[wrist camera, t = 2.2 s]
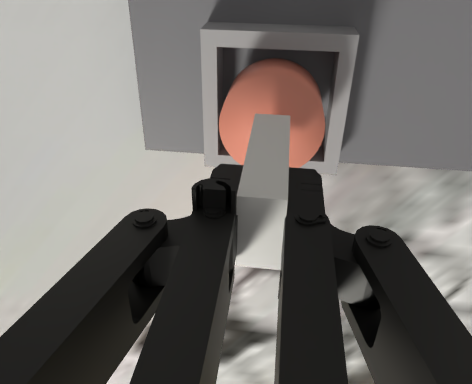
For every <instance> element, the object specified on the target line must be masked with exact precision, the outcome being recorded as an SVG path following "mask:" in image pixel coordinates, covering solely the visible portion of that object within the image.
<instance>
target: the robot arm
mask: <svg viewBox="0 0 472 384" xmlns="http://www.w3.org/2000/svg"><path fill="white" fill-rule="evenodd" d="M289 146H290V115H273V114H255V116H254V121H253V125H252V130H251V134H250V139H249V143H248V148H247V152H246V156H245V161H244V165H235V164H219V165H218V166H217V167H216V168H215V169H213V171H212V174H211V177H210V178H209V179H205V180H201V181H199V182H197V183H195V184H194V185H193V187H192V205H193V211H192V214H191V215H190V216H188V217H185V218H180V219H174V220H167V218H166V215H165V214H164V213H163V212H161V211H159V210H156V209H139V210H137V211H134V212H131V213H130V214H128V215H127V216H125V217H124V218H123V219H122V220H121V221H120V222H119V223H118V224H117V225H116V226H115V227H114V228H113V229H112V230H111V231H110V232H109V233H108V234H107V235H106V236H105V237H104V238H103V239H102V240H101V241H99V242H98V243H97V244H96V245H95V246H94V247H93V248H92V249H91V250H90V251H89V252H88V253H87V254H86V255H85V256H84V257H83V258H82V259H81V260H80V261H79V262H78V263H77V264H76V265H75V266H74V267H72V268H71V269H70V270H69V271H68V272H67V273H66V274H65V275H64V276H63V277H62V278H61V279H60V280H59V281H58V282H57V283H56V284H55V285H54V286H53V287H52V288H51V289H50V290H49V291H48V292H47V293H45V294H44V295H43V296H42V297H41V298H40V299H39V300H38V301H37V302H36V303H35V304H34V305H33V306H32V307H31V308H30V309H29V310H28V311H27V312H26V313H25V314H24V315H23V316H22V317H21V318H20V319H18V320H17V321H16V322H15V323H14V324H13V325H12V326H11V327H10V328H9V329H8V330H7V331H6V332H5V333H4V334H3V335H2V336H1V337H0V384H106V383H107V381H108V380H109V379H110V377H111V376H112V374H113V373H114V371H115V370H116V369H117V367H118V366H119V364H120V363H121V361H122V360H123V358H124V357H125V356H126V354H127V353H128V351H129V350H130V348H131V347H132V346H133V344H134V343H135V341H136V340H137V338H138V337H139V335H140V334H141V333H142V331H143V330H144V328H145V327H146V325H147V324H148V323H149V321H150V320H151V318H152V317H153V315H154V314H155V315H154V318H153V321H152V324H151V326H150V329H149V332H148V335H147V337H146V340H145V343H144V346H143V348H142V351H141V354H140V356H139V359H138V362H137V365H136V367H135V370H134V373H133V376H132V378H131V381H130V384H216V379H217V374H218V368H219V362H220V356H221V351H222V345H223V339H224V334H225V328H226V322H227V316H228V311H229V305H230V299H231V293H232V288H233V282H234V265H235V260H236V266H242V267H253V268H264V269H274V270H281V271H280V282H279V293H278V299H279V302H278V322H277V342H276V362H275V381H274V384H348V379H347V370H346V361H345V352H344V343H343V334H342V325H341V316H340V308H339V300H341V303H342V308H343V310H344V312H345V315H346V317H347V319H348V322H349V324H350V326H351V328H352V331H353V333H354V335H355V338H356V340H357V342H358V345H359V347H360V349H361V352H362V354H363V356H364V359H365V361H366V363H367V365H368V368H369V370H370V372H371V375H372V377H373V379H374V382H375V384H472V336H471V334H470V333H469V332H468V330H467V329H466V327H465V326H464V325H463V323H462V322H461V321H460V319H459V318H458V316H457V315H456V314H455V312H454V311H453V309H452V308H451V307H450V305H449V304H448V302H447V301H446V300H445V298H444V297H443V296H442V294H441V293H440V291H439V290H438V289H437V287H436V286H435V284H434V283H433V282H432V280H431V279H430V278H429V276H428V275H427V273H426V272H425V271H424V269H423V268H422V266H421V265H420V264H419V262H418V261H417V259H416V258H415V257H414V255H413V254H412V253H411V251H410V250H409V248H408V247H407V246H406V244H405V243H404V241H403V240H402V239H401V238H400V237H399V236H398V235H397V234H396V233H395V232H393V231H391V230H389V229H388V228H384V227H380V226H365V227H361V228H360V229H358V230H357V231H356V233H355V234H351V233H348V232H345V231H342V230H339V229H338V228H336V227H334V226H333V225H331V224H330V221H329V218H328V216H327V215H326V214H325V207H324V197H323V188H322V178H321V175H320V174H319V173H318V172H317V171H316V170H315V169H307V168H292V167H289ZM155 312H156V313H155Z"/></svg>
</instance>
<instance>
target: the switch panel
mask: <svg viewBox="0 0 472 384" xmlns="http://www.w3.org/2000/svg"><path fill="white" fill-rule="evenodd" d="M128 3H129V12H130V21H131V29H132V38H133V46H134V55H135V64H136V72H137V81H138V89H139V98H140V107H141V115H142V124H143V132H144V141H145V150H157V151H172V152H187V153H203V154H204V163H205V166H206V167H217V166H218V165H219V164H235V165H240V164H239V163H238V162H236V161H235V160H234V159H233V158H232V157H231V156H230V154H229V153H228V152H227V150H226V149H225V147H224V145H223V143H222V140H221V137H220V132H219V118H220V113H221V110H222V107H223V104H224V102H225V100H226V97H227V95H228V92H229V90H230V87H231V85H232V83H233V81H234V80H235V78H236V77H237V76H238V74H239V73H240V72H241V71H242V70H244V69H245V68H246V67H248V66H249V65H251V64H253V63H255V62H257V61H260V60H263V59H269V58H280V59H286V60H290V61H292V62H295V63H297V64H299V65H300V66H302V67H303V68H305V69H306V70H307V71H308V72H309V73H310V74H311V75H312V77H313V78H314V79H315V81H316V83H317V85H318V87H319V90H320V94H321V99H322V105H323V111H324V117H325V133H324V138H323V141H322V143H321V145H320V147H319V149H318V151H317V152H316V154H315V155H314V156H313V157H312V158H311V159H310V160H309V161H308V162H307V163H306V164H304V165H303V166H301V167H299V168H307V169H315V170H316V171H317V172H318V173H319V174H323V175H337V170H338V164H339V162H340V163H355V164H370V165H386V166H401V167H416V168H431V169H447V170H462V171H472V0H128Z"/></svg>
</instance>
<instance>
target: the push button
mask: <svg viewBox="0 0 472 384" xmlns="http://www.w3.org/2000/svg"><path fill="white" fill-rule="evenodd" d="M255 114H273V115H290V146H289V167H292V168H299V167H301V166H303V165H304V164H306V163H307V162H308V161H309V160H310V159H311V158H312V157H313V156H314V155H315V154H316V152H317V151H318V149H319V147H320V145H321V143H322V141H323V138H324V133H325V117H324V111H323V105H322V99H321V94H320V90H319V87H318V85H317V83H316V81H315V79H314V78H313V77H312V75H311V74H310V73H309V72H308V71H307V70H306V69H305V68H303V67H302V66H300V65H299V64H297V63H295V62H292V61H290V60H286V59H280V58H269V59H263V60H260V61H257V62H255V63H253V64H251V65H249V66H248V67H246V68H245V69H244V70H242V71H241V72H240V73H239V74H238V76H237V77H236V78H235V80H234V81H233V83H232V85H231V87H230V90H229V92H228V95H227V97H226V100H225V102H224V104H223V107H222V110H221V113H220V118H219V132H220V137H221V140H222V143H223V145H224V147H225V149H226V150H227V152H228V153H229V154H230V156H231V157H232V158H233V159H234V160H235V161H236V162H238V163H239V164H240V165H244V161H245V156H246V152H247V148H248V143H249V139H250V134H251V130H252V125H253V121H254V116H255Z"/></svg>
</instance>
